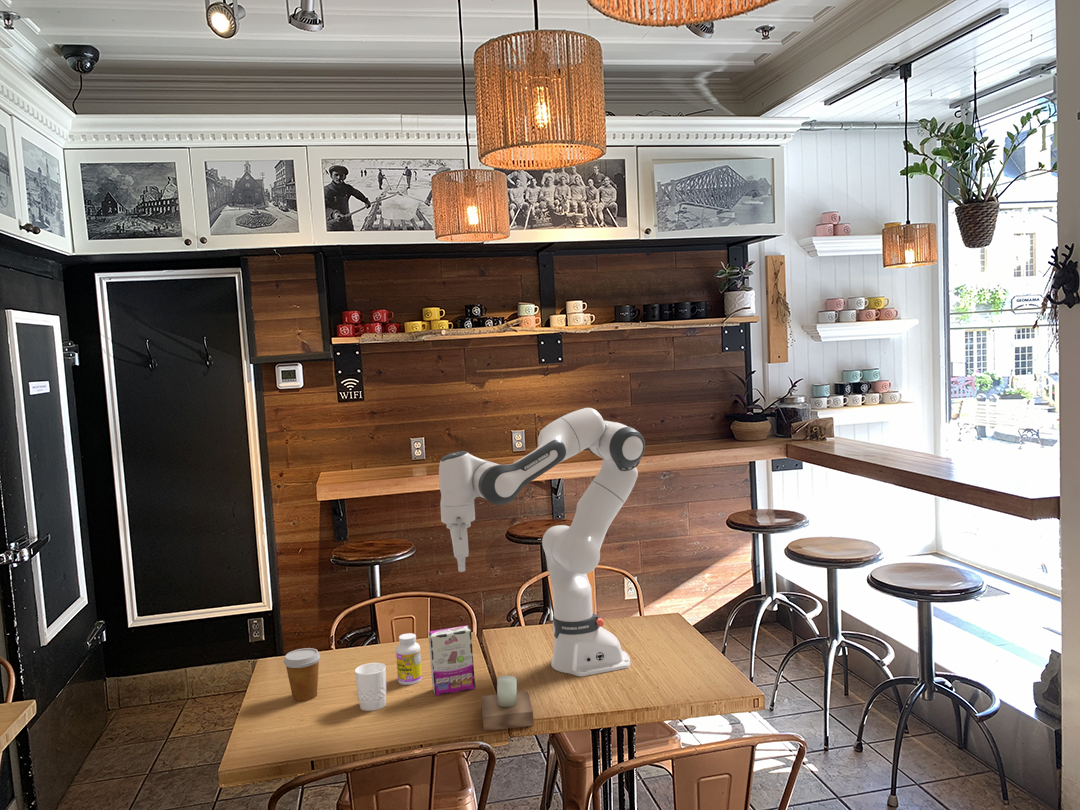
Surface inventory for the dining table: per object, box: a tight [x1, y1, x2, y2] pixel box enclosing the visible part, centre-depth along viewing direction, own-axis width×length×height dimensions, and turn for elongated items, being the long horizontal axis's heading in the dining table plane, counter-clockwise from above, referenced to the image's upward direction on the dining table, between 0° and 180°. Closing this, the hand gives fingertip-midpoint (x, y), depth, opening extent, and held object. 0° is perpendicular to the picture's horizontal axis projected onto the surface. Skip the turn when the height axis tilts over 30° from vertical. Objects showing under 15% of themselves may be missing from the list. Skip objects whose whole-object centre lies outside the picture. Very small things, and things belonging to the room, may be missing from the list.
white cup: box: [354, 662, 387, 712], centre depth 212 cm, size 8×8×10 cm
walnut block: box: [480, 691, 535, 732], centre depth 201 cm, size 12×12×4 cm
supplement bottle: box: [395, 632, 423, 686], centre depth 227 cm, size 7×7×13 cm
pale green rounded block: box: [496, 674, 518, 707], centre depth 201 cm, size 5×5×6 cm
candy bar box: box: [427, 625, 476, 697], centre depth 219 cm, size 11×5×16 cm, turn 106°
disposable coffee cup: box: [283, 647, 321, 702], centre depth 220 cm, size 10×10×12 cm
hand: (461, 566), depth 213 cm, fingers open, 8 cm apart
